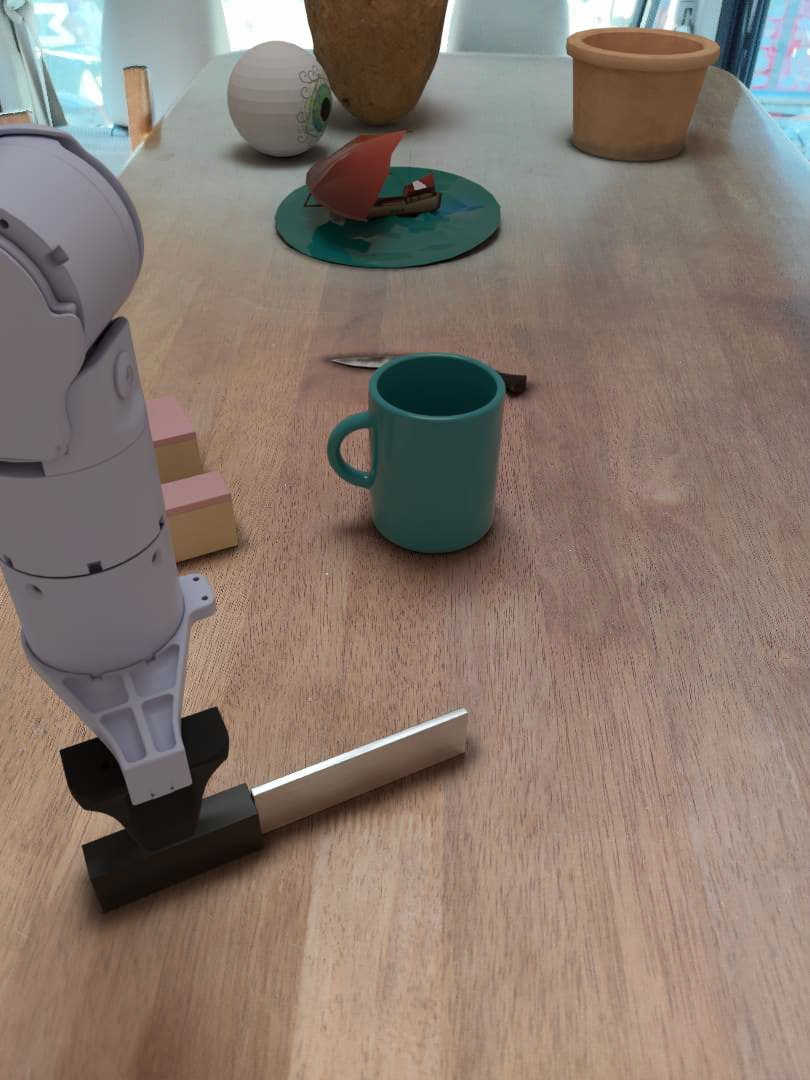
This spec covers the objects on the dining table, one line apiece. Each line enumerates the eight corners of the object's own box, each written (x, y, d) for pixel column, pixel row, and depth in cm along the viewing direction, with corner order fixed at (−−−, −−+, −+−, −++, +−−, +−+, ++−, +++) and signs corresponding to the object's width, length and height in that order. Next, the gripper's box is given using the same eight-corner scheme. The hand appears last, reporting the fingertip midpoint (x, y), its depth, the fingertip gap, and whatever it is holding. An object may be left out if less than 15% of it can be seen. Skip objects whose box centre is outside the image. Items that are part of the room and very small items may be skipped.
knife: (322, 365, 82) (337, 343, 86) (323, 379, 83) (338, 357, 87) (524, 383, 79) (530, 360, 83) (523, 397, 80) (529, 374, 84)
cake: (85, 512, 66) (71, 460, 64) (70, 470, 71) (56, 419, 68) (203, 481, 70) (195, 431, 67) (182, 443, 74) (174, 393, 71)
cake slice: (110, 582, 61) (95, 528, 58) (100, 555, 63) (86, 503, 60) (238, 545, 64) (231, 492, 61) (225, 521, 66) (218, 469, 63)
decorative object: (293, 177, 126) (285, 58, 117) (211, 158, 132) (198, 44, 123) (354, 150, 136) (351, 39, 127) (275, 135, 142) (267, 27, 133)
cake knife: (103, 914, 43) (87, 875, 40) (94, 879, 44) (79, 839, 42) (472, 762, 49) (475, 722, 47) (454, 736, 51) (457, 696, 49)
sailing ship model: (256, 197, 120) (243, 109, 112) (453, 166, 125) (455, 80, 118) (306, 297, 100) (295, 200, 93) (536, 255, 106) (545, 160, 98)
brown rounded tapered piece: (469, 116, 152) (478, -61, 136) (415, 152, 136) (419, -44, 120) (349, 100, 159) (345, -70, 143) (285, 133, 143) (273, -55, 127)
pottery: (696, 173, 129) (719, 62, 120) (544, 158, 134) (555, 50, 125) (701, 133, 145) (722, 32, 136) (565, 121, 150) (577, 23, 141)
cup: (333, 482, 70) (327, 350, 63) (488, 482, 70) (499, 351, 63) (326, 557, 63) (318, 419, 56) (498, 558, 63) (512, 420, 56)
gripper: (262, 623, 27) (291, 867, 36) (146, 400, 37) (190, 632, 46) (18, 700, 25) (112, 942, 33) (-36, 439, 35) (47, 676, 43)
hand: (147, 767), depth 39 cm, fingers open, 7 cm apart
